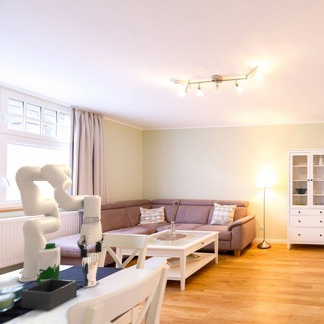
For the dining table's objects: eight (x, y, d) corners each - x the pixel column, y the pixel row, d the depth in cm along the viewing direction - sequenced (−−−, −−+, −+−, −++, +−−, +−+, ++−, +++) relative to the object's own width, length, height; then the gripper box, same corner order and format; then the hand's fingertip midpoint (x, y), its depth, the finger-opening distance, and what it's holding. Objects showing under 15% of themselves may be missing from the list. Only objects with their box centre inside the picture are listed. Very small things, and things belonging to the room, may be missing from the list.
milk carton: (60, 281, 141) (61, 242, 142) (57, 287, 133) (59, 246, 134) (39, 284, 137) (40, 243, 138) (34, 291, 129) (36, 248, 130)
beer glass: (90, 288, 132) (91, 256, 133) (77, 287, 133) (79, 256, 134) (100, 283, 139) (101, 252, 140) (89, 281, 140) (89, 252, 141)
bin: (21, 307, 113) (22, 290, 113) (50, 293, 126) (51, 278, 126) (49, 310, 110) (50, 293, 110) (76, 296, 123) (77, 280, 124)
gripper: (97, 217, 147) (97, 249, 146) (71, 222, 130) (70, 259, 129) (110, 217, 146) (109, 250, 145) (85, 223, 129) (84, 260, 128)
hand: (91, 254), depth 137 cm, fingers open, 9 cm apart
